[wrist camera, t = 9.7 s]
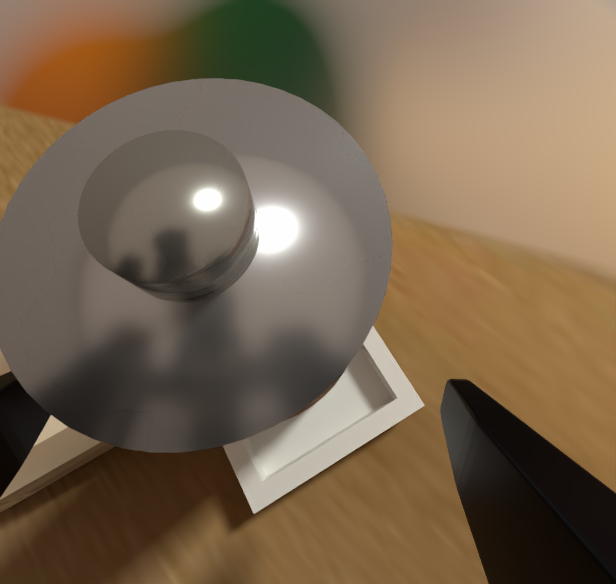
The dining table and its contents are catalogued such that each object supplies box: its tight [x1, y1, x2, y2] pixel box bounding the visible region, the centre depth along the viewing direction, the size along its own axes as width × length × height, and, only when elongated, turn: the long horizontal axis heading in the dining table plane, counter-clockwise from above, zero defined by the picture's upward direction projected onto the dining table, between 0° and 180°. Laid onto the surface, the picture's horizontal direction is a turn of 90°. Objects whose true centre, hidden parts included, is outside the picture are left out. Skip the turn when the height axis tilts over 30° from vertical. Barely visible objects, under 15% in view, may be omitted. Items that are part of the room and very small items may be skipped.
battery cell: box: [0, 78, 392, 453], centre depth 10 cm, size 5×5×13 cm
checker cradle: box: [0, 349, 116, 513], centre depth 16 cm, size 9×9×2 cm
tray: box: [223, 326, 425, 514], centre depth 16 cm, size 10×8×2 cm
